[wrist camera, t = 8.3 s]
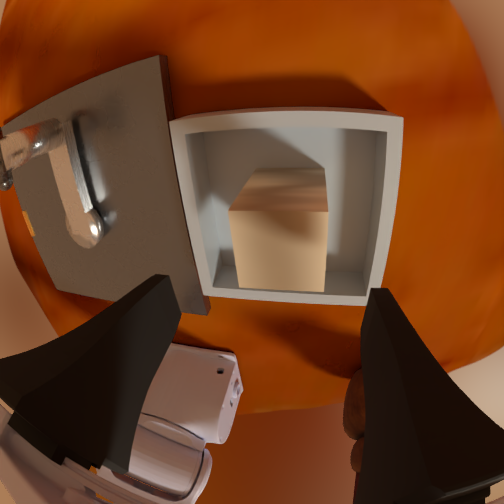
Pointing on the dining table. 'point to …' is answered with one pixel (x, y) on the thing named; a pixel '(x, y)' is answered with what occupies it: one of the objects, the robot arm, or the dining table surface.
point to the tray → (293, 156)
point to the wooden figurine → (355, 421)
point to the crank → (55, 173)
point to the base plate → (114, 188)
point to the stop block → (281, 229)
